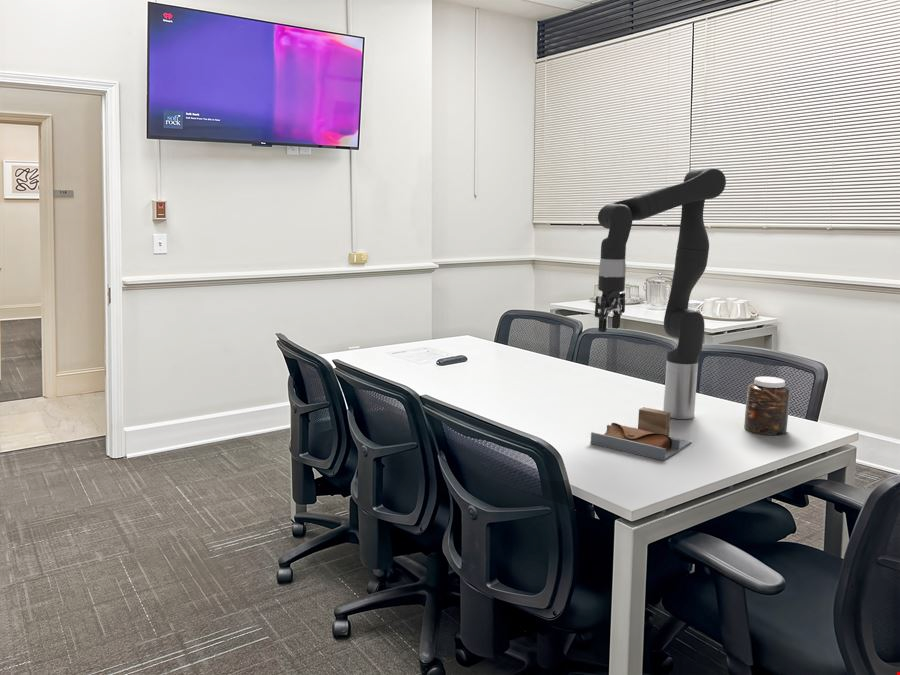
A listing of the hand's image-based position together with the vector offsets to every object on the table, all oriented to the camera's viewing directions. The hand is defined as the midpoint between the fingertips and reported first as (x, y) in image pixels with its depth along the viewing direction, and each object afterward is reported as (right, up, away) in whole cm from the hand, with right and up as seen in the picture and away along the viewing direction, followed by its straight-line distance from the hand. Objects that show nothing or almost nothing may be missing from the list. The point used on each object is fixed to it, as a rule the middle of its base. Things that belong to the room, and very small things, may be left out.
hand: (609, 329), depth 217 cm
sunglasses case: (+3, -31, -17) cm, 36 cm away
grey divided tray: (+6, -31, -14) cm, 35 cm away
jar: (+46, -29, 0) cm, 54 cm away
